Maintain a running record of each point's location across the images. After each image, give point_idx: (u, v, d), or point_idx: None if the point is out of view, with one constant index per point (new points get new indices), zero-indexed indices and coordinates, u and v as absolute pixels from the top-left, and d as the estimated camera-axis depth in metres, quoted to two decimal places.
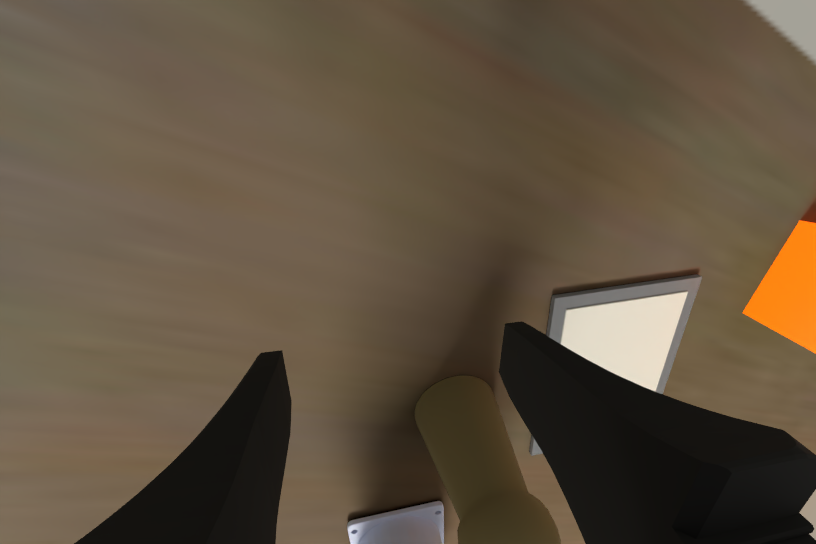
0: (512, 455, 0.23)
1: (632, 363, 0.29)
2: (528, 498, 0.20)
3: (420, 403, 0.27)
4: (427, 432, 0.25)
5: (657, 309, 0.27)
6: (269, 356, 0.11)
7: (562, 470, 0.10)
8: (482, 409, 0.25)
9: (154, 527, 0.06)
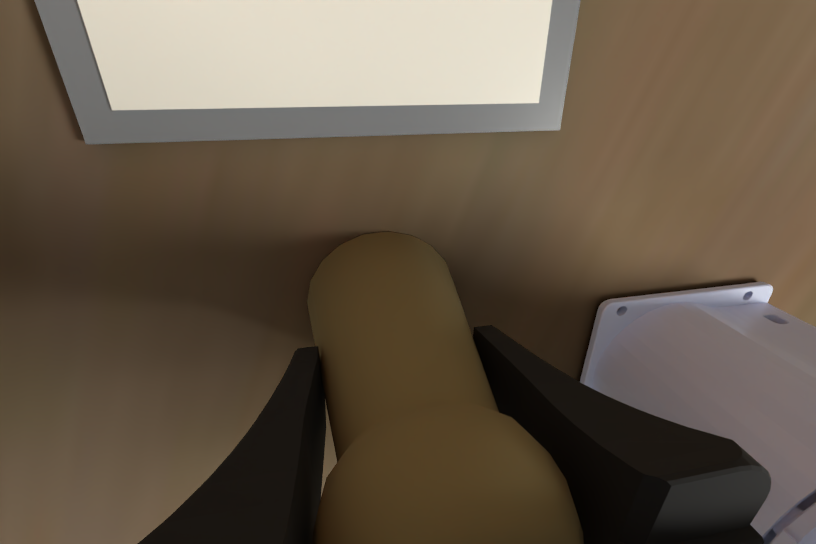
0: (357, 353, 0.10)
1: None
2: (328, 485, 0.07)
3: None
4: None
5: None
6: (307, 351, 0.11)
7: None
8: (318, 327, 0.13)
9: (231, 513, 0.06)
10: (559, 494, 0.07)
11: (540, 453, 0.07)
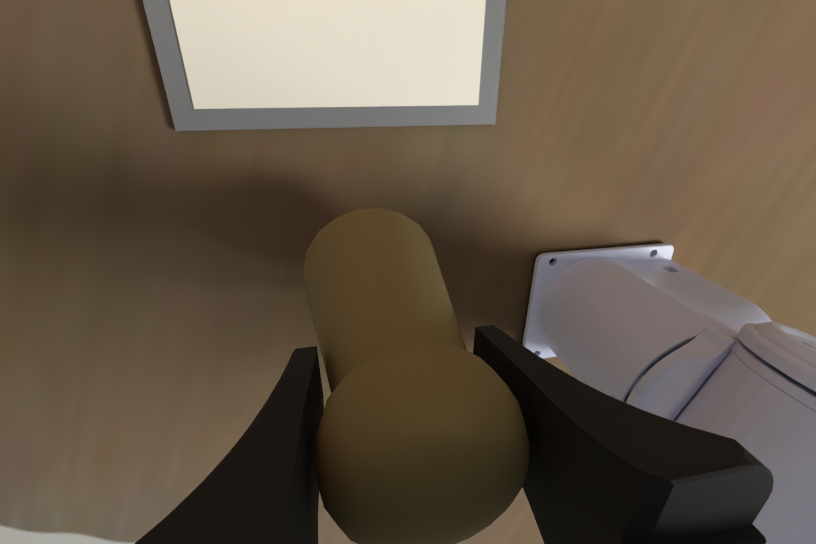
0: (352, 307, 0.12)
1: None
2: (329, 402, 0.09)
3: None
4: None
5: None
6: (306, 351, 0.11)
7: (526, 477, 0.10)
8: (315, 288, 0.14)
9: (227, 513, 0.06)
10: (512, 409, 0.09)
11: (500, 381, 0.09)
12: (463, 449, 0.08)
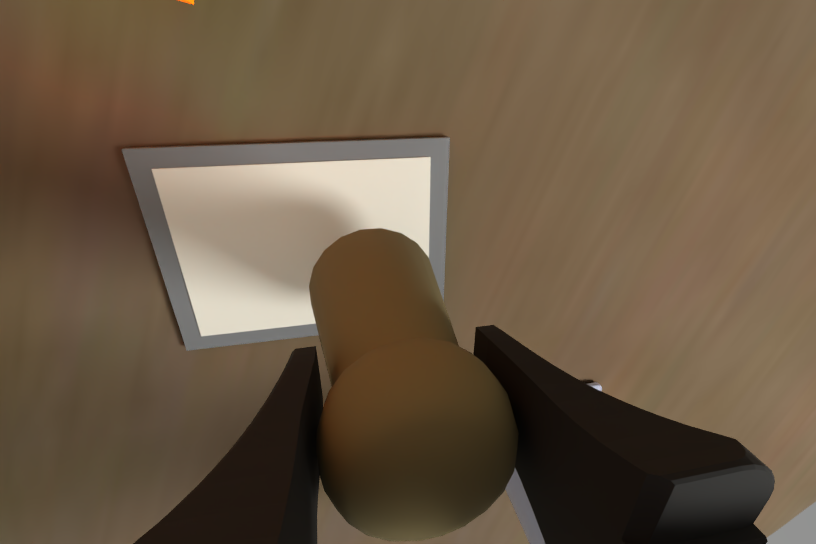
0: (354, 311, 0.13)
1: (294, 218, 0.20)
2: (331, 392, 0.10)
3: None
4: None
5: (189, 212, 0.19)
6: (305, 352, 0.11)
7: (527, 477, 0.10)
8: (320, 299, 0.15)
9: (226, 514, 0.06)
10: (499, 395, 0.09)
11: (488, 371, 0.10)
12: (453, 426, 0.08)
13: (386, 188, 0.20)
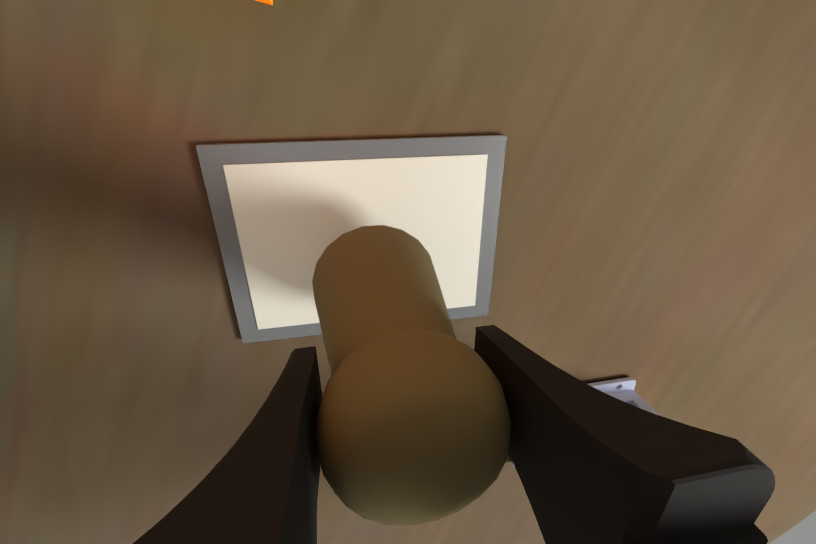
0: (354, 305, 0.13)
1: (354, 214, 0.20)
2: (330, 380, 0.10)
3: None
4: None
5: (255, 207, 0.19)
6: (304, 352, 0.11)
7: (527, 477, 0.10)
8: (322, 294, 0.16)
9: (225, 514, 0.06)
10: (492, 384, 0.10)
11: (482, 362, 0.10)
12: (446, 413, 0.09)
13: (443, 185, 0.21)
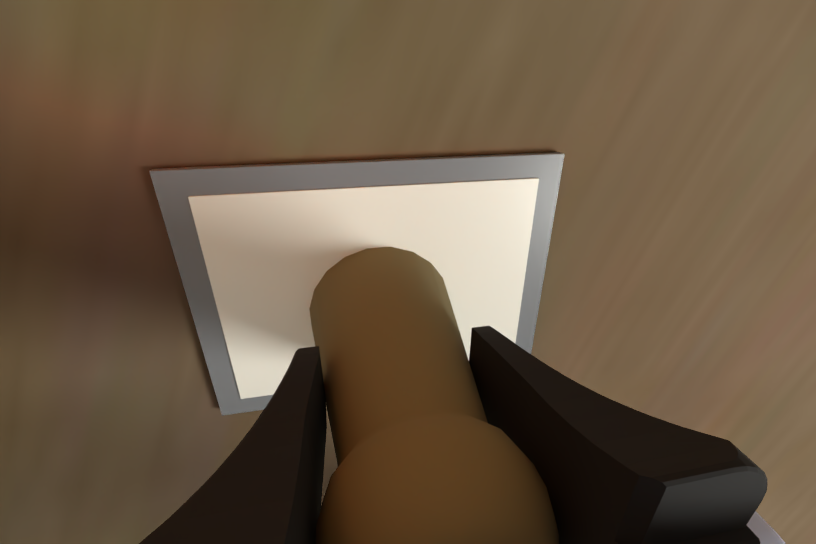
0: (360, 363, 0.11)
1: None
2: (333, 482, 0.08)
3: None
4: None
5: (234, 250, 0.14)
6: (308, 351, 0.11)
7: None
8: (321, 334, 0.13)
9: (232, 513, 0.06)
10: (540, 499, 0.08)
11: (525, 462, 0.08)
12: None
13: (480, 218, 0.16)
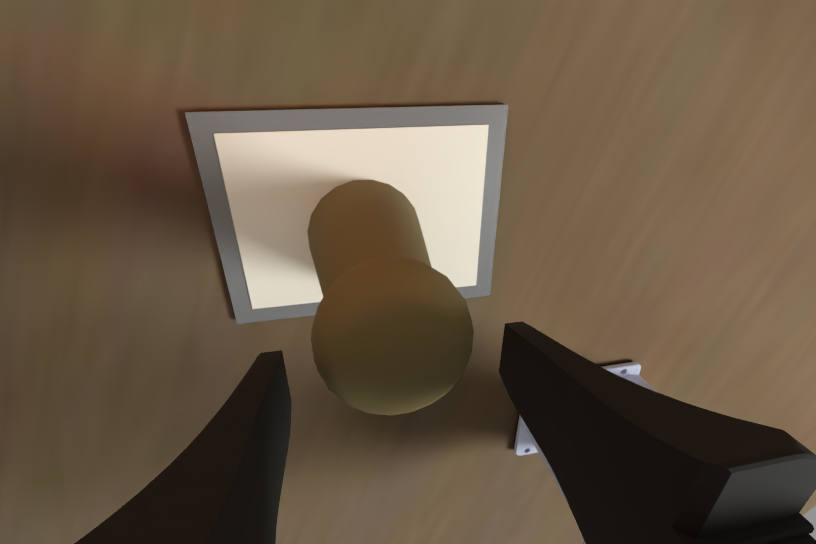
0: (344, 243, 0.15)
1: None
2: (323, 297, 0.12)
3: None
4: None
5: (248, 179, 0.18)
6: (269, 356, 0.11)
7: (562, 470, 0.10)
8: (316, 239, 0.17)
9: (154, 528, 0.06)
10: (456, 298, 0.12)
11: (450, 281, 0.12)
12: (416, 314, 0.11)
13: (443, 157, 0.20)
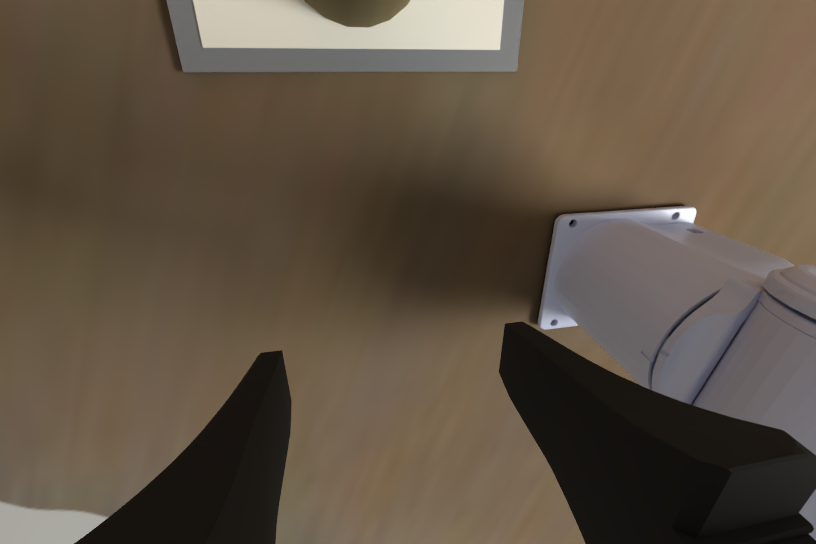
0: None
1: None
2: None
3: (320, 11, 0.16)
4: (338, 4, 0.14)
5: None
6: (269, 356, 0.11)
7: (562, 470, 0.10)
8: None
9: (154, 527, 0.06)
10: None
11: None
12: None
13: None
